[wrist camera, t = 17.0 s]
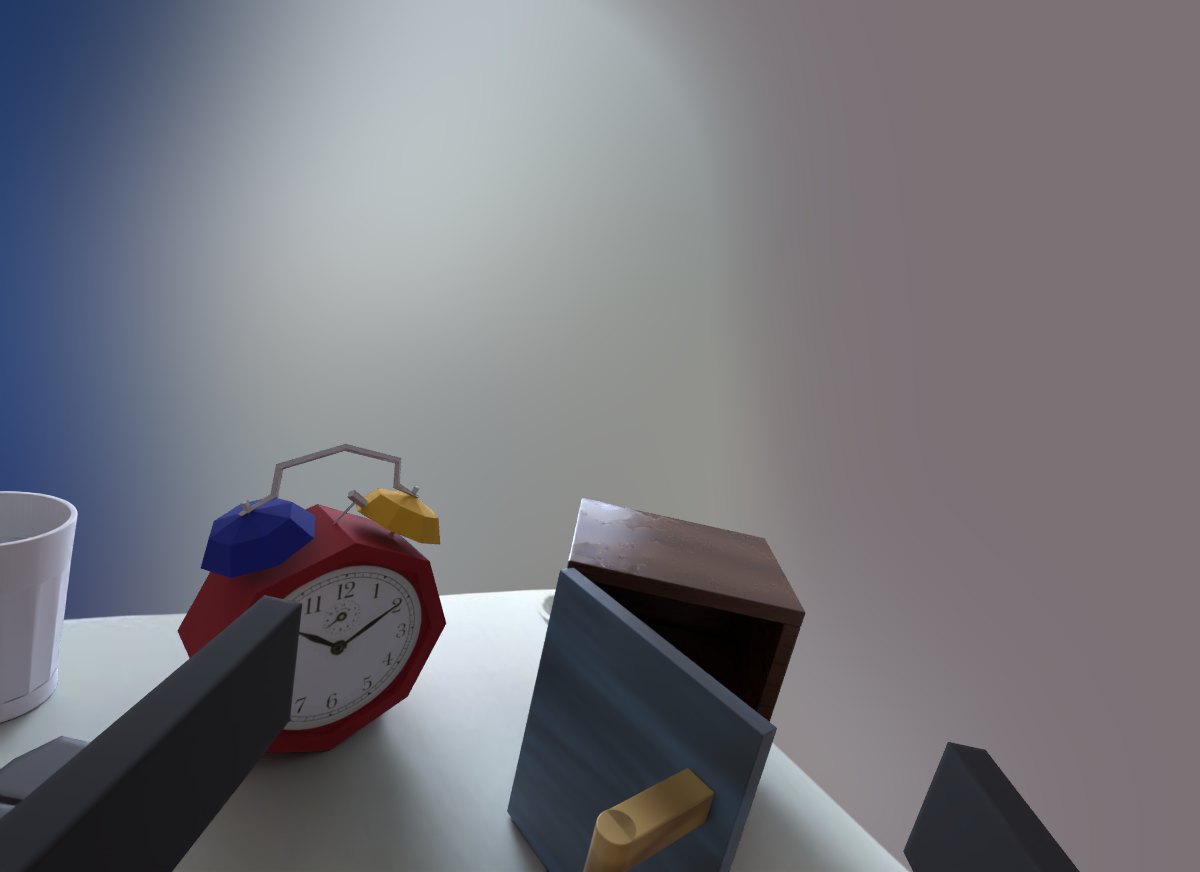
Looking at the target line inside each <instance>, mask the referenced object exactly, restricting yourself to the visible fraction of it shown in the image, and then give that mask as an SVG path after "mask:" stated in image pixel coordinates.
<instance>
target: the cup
mask: <svg viewBox="0 0 1200 872" xmlns="http://www.w3.org/2000/svg"><path fill="white" fill-rule="evenodd" d="M76 520H77V510H76V508H75V507H74V506H73V505H72V504H71V503H69V502H67V501H65V500H63V499H60V498H57V497H53V496H49V495H43V494H38V493H28V492H11V491H10V492H9V491H7V492H6V491H5V492H4V491H3V492H2V491H0V723H1V722H4V721H7V720H10V719H13V718H15V717H18V716H20V715H22V714H24V713H26V712H28V711H30V710H32V709H34V708H35V707H37V706H39V705H40V704H41V703H43V702H44V701H45V700H46V699H48V698H49V697H50V696H51V694H52V693H53V692H54V691H55V689H56V687H57V684H58V661H59V653H60V645H61V636H62V628H63V620H64V612H65V604H66V594H67V587H68V579H69V570H70V562H71V555H72V549H73V541H74V534H75V527H76Z"/></svg>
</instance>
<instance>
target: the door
mask: <svg viewBox="0 0 1200 872" xmlns="http://www.w3.org/2000/svg"><path fill="white" fill-rule="evenodd" d="M776 729H777V728H776V727H775V726H774V725H772V724H771V723H770V722H769V721H767V720H766V719H765V718H764V717H762V716H761V715H760V714H759V713H757V712H756V711H755V710H753V709H752V708H751V707H750V706H748V705H747V704H746V703H745V702H743V701H742V700H741V699H740V698H738V697H737V696H736V695H734V694H733V693H732V692H731V691H729V690H728V689H727V688H726V687H724V686H723V685H722V684H721V683H719V682H718V681H717V680H715V679H714V678H713V677H712V676H710V675H709V674H708V673H707V672H705V671H704V670H703V669H702V668H700V667H699V666H698V665H696V664H695V663H694V662H693V661H691V660H690V659H689V658H688V657H686V656H685V655H684V654H683V653H681V652H680V651H679V650H677V649H676V648H675V647H674V646H672V645H671V644H670V643H669V642H667V641H666V640H665V639H663V638H662V637H661V636H660V635H658V634H657V633H656V632H655V631H653V630H652V629H651V628H650V627H648V626H647V625H646V624H644V623H643V622H642V621H641V620H639V619H638V618H637V617H636V616H634V615H633V614H632V613H631V612H629V611H628V610H627V609H625V608H624V607H623V606H622V605H620V604H619V603H618V602H617V601H615V600H614V599H613V598H612V597H610V596H609V595H608V594H606V593H605V592H604V591H603V590H601V589H600V588H599V587H598V586H596V585H595V584H594V583H593V582H591V581H590V580H589V579H587V578H586V577H585V576H584V575H582V574H581V573H580V572H579V571H577V570H576V569H575V568H569V569H563V570H560V573H559V578H558V583H557V587H556V592H555V596H554V601H553V605H552V610H551V614H550V619H549V623H548V628H547V632H546V637H545V642H544V646H543V651H542V655H541V660H540V664H539V669H538V673H537V678H536V683H535V687H534V692H533V696H532V701H531V705H530V710H529V714H528V719H527V723H526V728H525V733H524V737H523V742H522V746H521V751H520V755H519V760H518V764H517V769H516V774H515V778H514V783H513V787H512V792H511V796H510V801H509V805H508V810H507V812H508V813H509V815H510V816H511V818H512V819H513V820H514V822H515V823H516V825H517V826H518V828H519V829H520V831H521V832H522V834H523V835H524V836H525V838H526V839H527V841H528V842H529V844H530V845H531V847H532V848H533V849H534V851H535V852H536V854H537V855H538V857H539V858H540V860H541V861H542V863H543V864H544V865H545V867H546V868H547V870H548V871H549V872H729V871H730V868H731V865H732V862H733V859H734V856H735V853H736V850H737V847H738V844H739V841H740V838H741V835H742V832H743V829H744V826H745V823H746V820H747V817H748V814H749V811H750V808H751V805H752V802H753V799H754V796H755V793H756V790H757V787H758V784H759V781H760V778H761V775H762V772H763V769H764V766H765V763H766V760H767V757H768V754H769V751H770V748H771V745H772V742H773V739H774V736H775V733H776Z"/></svg>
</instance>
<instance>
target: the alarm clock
mask: <svg viewBox="0 0 1200 872" xmlns="http://www.w3.org/2000/svg"><path fill="white" fill-rule="evenodd" d="M342 451H348V452H351V453H356V454H360V455H364V456H368V457H372V458H376V459H380V460H384V461H388V462H392V463H395V473H394V486H393V488H395V489H397V490H399V491H402V492H404V493H401V492H396V491H391V490H386V489H381V488H377V489H376V490H374V491H373V492H371V493H369V494H367V495H366V496H364V497H362V496H361V495H360V494H359V493H357V492H356V491H355V490H353V491H351V492H349V494H348V498H349V499H350V500H352V501H353V503H352V504H351V505H350V506H349V507H348V508H347V509H346V511H345V512H343V511H339V510H335V509H332V508H329V507H325V506H322V505H319V504H317V505H315V506H312V507H310V508H308V509H306V510H305V509H303V508H301V507H300V506H298V505H296V504H294V503H293V502H290V501H286V500H281V499H278V494H279V489H280V483H281V478H282V472H283V469H285V468H289V467H292V466H295V465H299V464H302V463H306V462H309V461H312V460H316V459H319V458H322V457H326V456H329V455H332V454H336V453H339V452H342ZM400 471H401V458H399V457H395V456H391V455H387V454H383V453H379V452H375V451H371V450H367V449H363V448H359V447H355V446H351V445H347V444H344V445H340V446H337V447H334V448H330V449H327V450H323V451H320V452H316V453H313V454H310V455H306V456H303V457H299V458H296V459H292V460H289V461H286V462H282V463H279V464H276V468H275V474H274V479H273V484H272V490H271V494H270V495H268V496H267V497H265V498H264V499H260V500H256V501H252V502H249V501H248V500H243V501H242V502H241V504H240V505H238V506H237V507H235V508H234V509H232V510H231V511H229V512H228V513H226V514H224V515H223V516H222V517H220V518H218V519H217V520H215V521H214V523H213V526H212V530H211V533H210V536H209V540H208V543H207V547H206V551H205V554H204V558H203V562H202V566H201V568H202V569H205V570H207V571H210V573H209V575H208V577H207V579H206V581H205V582H204V584H203V586H202V588H201V590H200V591H199V593H198V595H197V597H196V599H195V600H194V602H193V604H192V606H191V608H190V609H189V611H188V613H187V615H186V616H185V618H184V620H183V622H182V624H181V625H180V627H179V629H178V633H179V635H180V638H181V640H182V642H183V644H184V647H185V649H186V651H187V653H188V655H189V658H191V657H192V656H193V655H195V654H196V653H197V652H198V651H199V650H200V649H202V648H203V647H204V646H205V645H206V644H208V643H209V642H210V641H211V640H212V639H213V638H215V637H216V636H217V635H218V634H219V633H221V632H222V631H223V630H224V629H225V628H226V627H228V626H229V625H230V624H231V623H232V622H233V621H235V620H236V619H237V618H238V617H239V616H241V615H242V614H243V613H244V612H245V611H246V610H248V609H249V608H250V607H251V606H252V605H254V604H255V603H256V602H257V601H258V600H259V599H261V598H262V597H263V596H264V595H266V596H270V597H275V598H280V599H284V600H289V601H293V602H298V603H302V612H301V622H300V631H299V640H298V650H297V659H296V668H295V678H294V687H293V697H292V706H291V715H290V721H289V722H288V724H287V725H286V726H285V728H284V729H283V730H282V731H281V733H280V734H279V735H278V737H277V738H276V739H275V740H274V742H273V743H272V744H271V745H270V747H269V748H268V749H267V751H266V752H265V753H287V752H313V751H329V750H330V749H332V748H333V747H335V746H336V745H338V744H339V743H341V742H342V741H344V740H345V739H346V738H348V737H349V736H351V735H352V734H354V733H355V732H357V731H358V730H360V729H361V728H363V727H364V726H365V725H367V724H368V723H370V722H371V721H373V720H374V719H376V718H377V717H379V716H380V715H381V714H383V713H384V712H386V711H387V710H389V709H390V708H392V707H393V706H395V705H396V704H397V703H399V702H400V701H402V700H403V699H405V698H406V697H408V695H409V693H410V691H411V689H412V687H413V685H414V683H415V682H416V680H417V678H418V676H419V674H420V672H421V670H422V668H423V666H424V665H425V663H426V661H427V659H428V657H429V655H430V653H431V651H432V649H433V648H434V646H435V644H436V642H437V640H438V638H439V636H440V634H441V632H442V631H443V629H444V627H445V625H446V621H445V617H444V613H443V609H442V606H441V602H440V598H439V594H438V591H437V587H436V583H435V580H434V576H433V572H432V568H431V565H430V561H429V560H427V559H426V558H425V557H424V556H423V555H422V554H421V553H419V552H418V551H417V550H416V549H415V548H414V547H413V546H412V545H411V544H409V543H408V542H407V541H406V540H405V539H404V538H403V537H402V536H404V537H407V538H409V539H412V540H414V541H417V542H419V543H428V544H440V536H439V521H438V517H437V516H436V514H435V513H434V511H432V510H431V509H430V508H429V507H427V506H426V505H425V504H424V503H422V502H421V501H420V500H418V499H417V498H419V496H418V495H416V494H417V492H418V490H419V487H417V486H415V487H414V489H413V490H412V491H410V490H408V489H407V488H405V487H404V486H402V485H401V484H400ZM405 493H406V494H405ZM354 504H356V507H357V511H358V512H360V513H361V514H363V515H364V516H366V517H368V518H369V519H367V518H363V517H360V516H356V515H353V514H350V513H347V512H348V511H349V510H350V508H351V507H352V506H353V505H354ZM370 519H371V520H370ZM400 535H402V536H400Z"/></svg>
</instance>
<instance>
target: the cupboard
mask: <svg viewBox="0 0 1200 872" xmlns="http://www.w3.org/2000/svg"><path fill="white" fill-rule="evenodd" d="M569 568H575V569H576V570H577V571H579V572H580V573H581V574H582V575H584V576H585V577H586V578H587V579H589V580H590V581H591V582H593V583H594V584H595V585H596V586H598V587H599V588H600V589H601V590H603V591H604V592H605V593H606V594H608V595H609V596H610V597H612V598H613V599H614V600H615V601H617V602H618V603H619V604H620V605H622V606H623V607H624V608H625V609H627V610H628V611H629V612H631V613H632V614H633V615H634V616H636V617H637V618H638V619H639V620H641V621H642V622H643V623H644V624H646V625H647V626H648V627H650V628H651V629H652V630H653V631H655V632H656V633H657V634H658V635H660V636H661V637H662V638H663V639H665V640H666V641H667V642H669V643H670V644H671V645H672V646H674V647H675V648H676V649H677V650H679V651H680V652H681V653H683V654H684V655H685V656H686V657H688V658H689V659H690V660H691V661H693V662H694V663H695V664H696V665H698V666H699V667H700V668H702V669H703V670H704V671H705V672H707V673H708V674H709V675H710V676H712V677H713V678H714V679H715V680H717V681H718V682H719V683H721V684H722V685H723V686H724V687H726V688H727V689H728V690H729V691H731V692H732V693H733V694H734V695H736V696H737V697H738V698H740V699H741V700H742V701H743V702H745V703H746V704H747V705H748V706H750V707H751V708H752V709H753V710H755V711H756V712H757V713H759V714H760V715H761V716H762V717H764V718H765V719H766V720H767V721H769V722H770V719H771V716H772V713H773V710H774V707H775V704H776V701H777V698H778V695H779V692H780V689H781V685H782V683H783V679H784V676H785V673H786V670H787V667H788V664H789V661H790V658H791V655H792V652H793V649H794V646H795V643H796V640H797V637H798V634H799V631H800V626H801V625H802V622H803V619H804V616H805V611H804V609H803V607H802V606H801V604H800V602H799V600H798V598H797V596H796V594H795V593H794V591H793V589H792V587H791V585H790V584H789V582H788V580H787V578H786V576H785V574H784V573H783V571H782V569H781V567H780V566H779V564H778V562H777V560H776V558H775V556H774V554H773V553H772V551H771V549H770V547H769V545H768V544H767V542H766V540H765V539H764V538H760V537H756V536H751V535H747V534H742V533H738V532H733V531H729V530H724V529H720V528H715V527H711V526H706V525H701V524H697V523H693V522H687V521H683V520H679V519H674V518H670V517H665V516H661V515H656V514H652V513H647V512H643V511H638V510H633V509H629V508H625V507H620V506H615V505H611V504H607V503H602V502H598V501H593V500H588V499H584V498H583V499H582V502H581V506H580V511H579V515H578V519H577V524H576V529H575V533H574V537H573V542H572V546H571V551H570V555H569V560H568V564H567V569H569Z"/></svg>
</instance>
